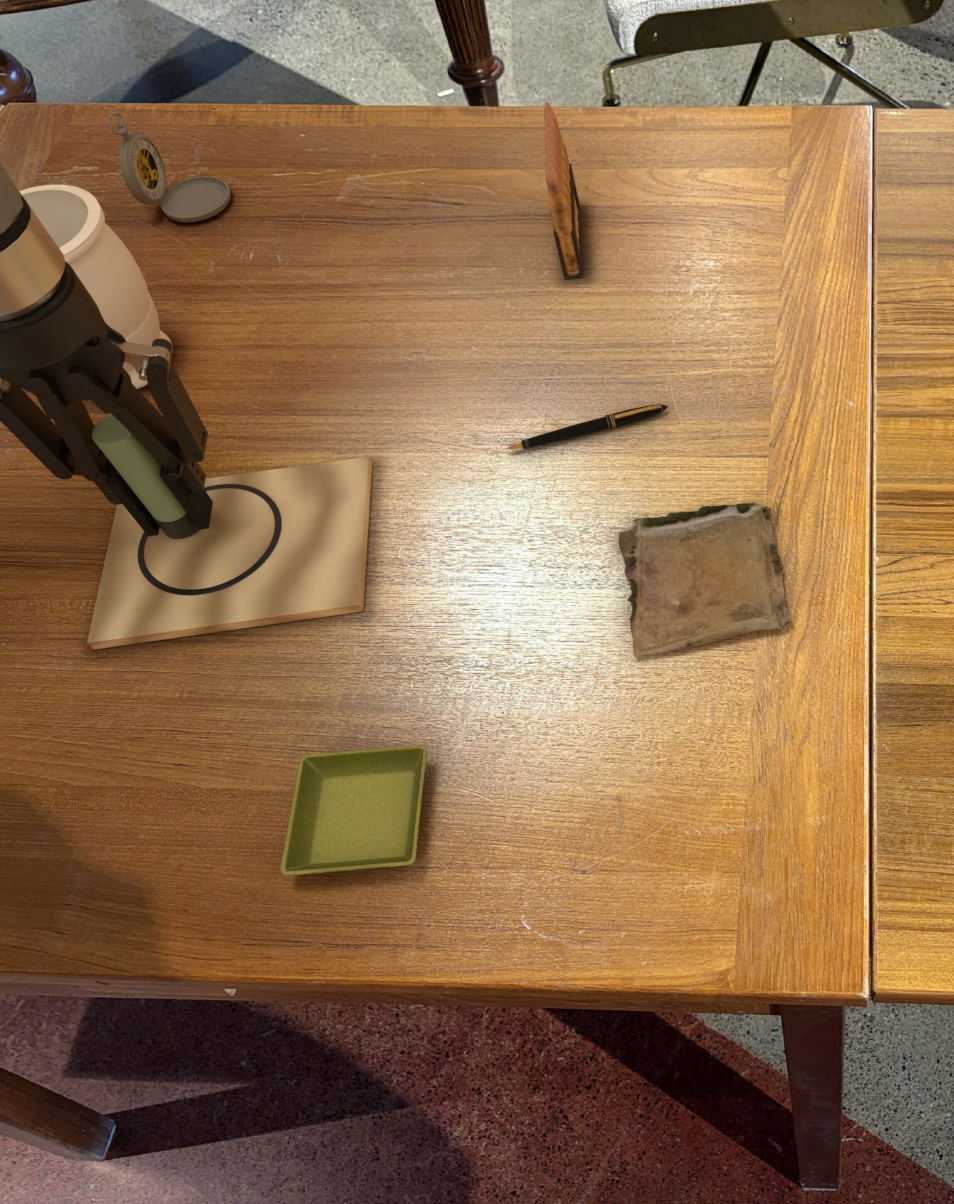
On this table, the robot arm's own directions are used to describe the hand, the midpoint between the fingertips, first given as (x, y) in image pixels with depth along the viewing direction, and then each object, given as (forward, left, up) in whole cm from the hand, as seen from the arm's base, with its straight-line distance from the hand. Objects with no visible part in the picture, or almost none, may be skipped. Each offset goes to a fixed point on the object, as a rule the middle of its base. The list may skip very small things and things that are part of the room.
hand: (180, 518), depth 91 cm
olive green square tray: (+15, -28, -2) cm, 32 cm away
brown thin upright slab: (+32, +30, -2) cm, 44 cm away
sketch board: (+4, -3, -2) cm, 5 cm away
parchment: (+40, -12, -2) cm, 42 cm away
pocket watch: (-6, +43, -2) cm, 44 cm away
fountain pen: (+32, +5, -2) cm, 33 cm away
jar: (-8, +21, -2) cm, 23 cm away
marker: (0, 0, -1) cm, 1 cm away
